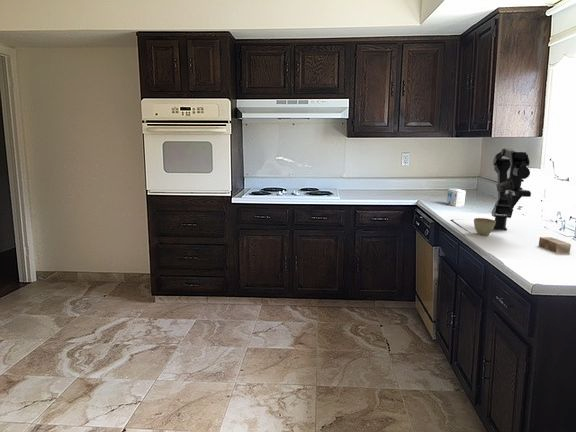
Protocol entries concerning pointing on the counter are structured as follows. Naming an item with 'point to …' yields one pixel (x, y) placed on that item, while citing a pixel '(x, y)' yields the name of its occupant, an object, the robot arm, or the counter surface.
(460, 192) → the light bulb box
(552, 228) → the counter surface
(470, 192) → the counter surface
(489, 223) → the flower pot
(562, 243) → the walnut block
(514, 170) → the robot arm
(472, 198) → the counter surface
